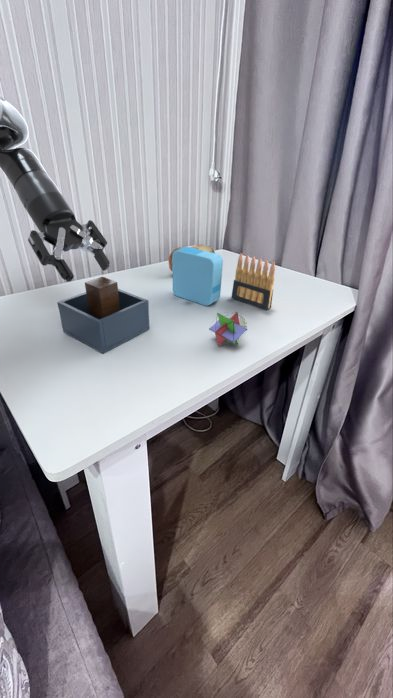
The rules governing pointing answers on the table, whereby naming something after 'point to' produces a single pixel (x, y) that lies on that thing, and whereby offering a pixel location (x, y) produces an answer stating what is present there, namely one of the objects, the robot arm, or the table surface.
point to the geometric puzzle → (229, 328)
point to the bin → (104, 321)
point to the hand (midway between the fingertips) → (89, 273)
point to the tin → (200, 247)
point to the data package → (197, 275)
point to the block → (102, 297)
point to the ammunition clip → (254, 283)
